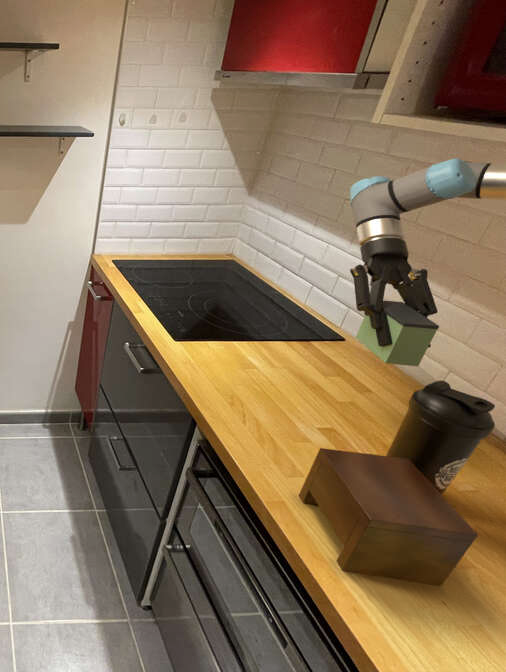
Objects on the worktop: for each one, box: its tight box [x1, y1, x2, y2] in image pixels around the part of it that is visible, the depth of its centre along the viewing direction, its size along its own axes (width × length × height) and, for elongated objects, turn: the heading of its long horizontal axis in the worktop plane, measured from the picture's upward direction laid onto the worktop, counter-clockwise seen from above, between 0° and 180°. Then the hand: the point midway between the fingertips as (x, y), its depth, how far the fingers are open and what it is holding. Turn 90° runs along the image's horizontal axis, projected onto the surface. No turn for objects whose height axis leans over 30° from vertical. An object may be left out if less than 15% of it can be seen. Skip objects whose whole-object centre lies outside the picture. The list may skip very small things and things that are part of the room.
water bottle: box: [385, 380, 496, 496], centre depth 80 cm, size 10×10×23 cm
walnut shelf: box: [298, 447, 479, 587], centre depth 74 cm, size 14×14×12 cm
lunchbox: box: [355, 300, 440, 367], centre depth 93 cm, size 6×10×10 cm, turn 171°
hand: (404, 346), depth 90 cm, fingers closed on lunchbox, 6 cm apart
